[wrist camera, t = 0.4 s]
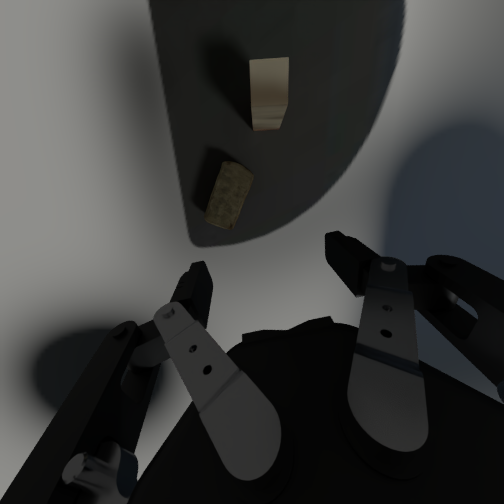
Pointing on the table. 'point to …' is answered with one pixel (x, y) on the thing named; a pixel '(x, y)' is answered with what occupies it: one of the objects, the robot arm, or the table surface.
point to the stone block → (228, 195)
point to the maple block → (268, 92)
